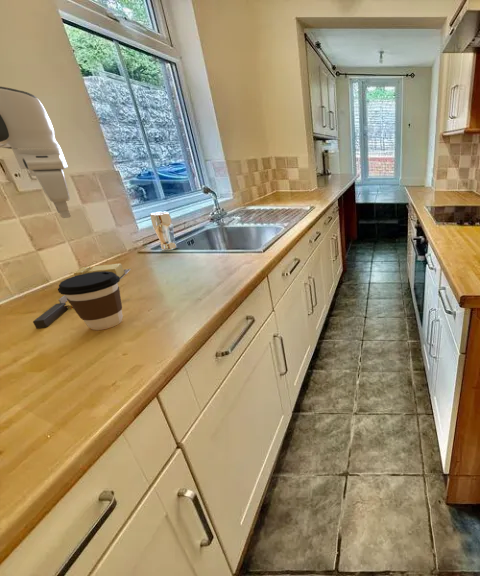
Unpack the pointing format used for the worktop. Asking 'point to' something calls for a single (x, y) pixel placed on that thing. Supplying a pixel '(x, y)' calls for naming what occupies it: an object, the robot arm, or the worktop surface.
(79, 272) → the butter slice
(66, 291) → the coffee cup
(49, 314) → the knife
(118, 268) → the butter block
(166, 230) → the beer glass
